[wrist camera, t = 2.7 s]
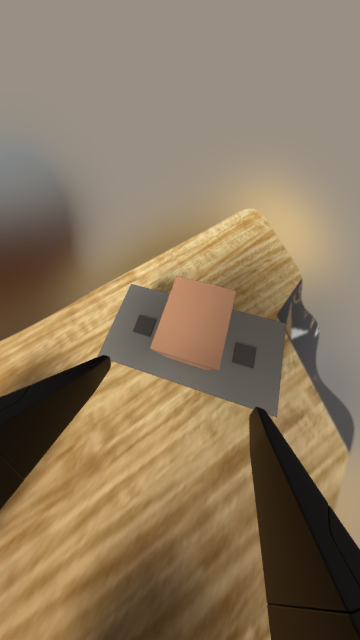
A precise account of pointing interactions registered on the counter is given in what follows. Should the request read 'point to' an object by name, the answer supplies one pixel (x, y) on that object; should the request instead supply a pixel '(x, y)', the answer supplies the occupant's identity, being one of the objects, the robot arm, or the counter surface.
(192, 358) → the plug
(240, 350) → the socket block
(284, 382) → the counter surface
